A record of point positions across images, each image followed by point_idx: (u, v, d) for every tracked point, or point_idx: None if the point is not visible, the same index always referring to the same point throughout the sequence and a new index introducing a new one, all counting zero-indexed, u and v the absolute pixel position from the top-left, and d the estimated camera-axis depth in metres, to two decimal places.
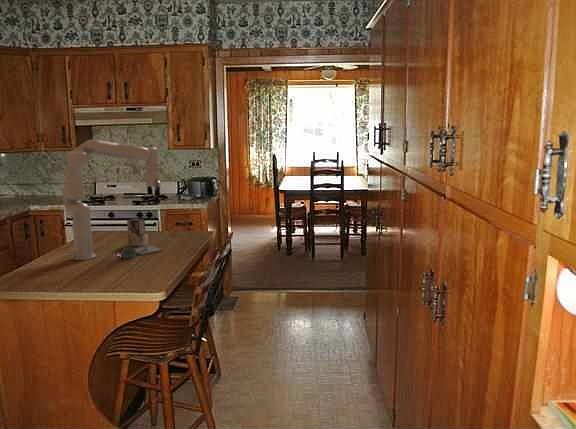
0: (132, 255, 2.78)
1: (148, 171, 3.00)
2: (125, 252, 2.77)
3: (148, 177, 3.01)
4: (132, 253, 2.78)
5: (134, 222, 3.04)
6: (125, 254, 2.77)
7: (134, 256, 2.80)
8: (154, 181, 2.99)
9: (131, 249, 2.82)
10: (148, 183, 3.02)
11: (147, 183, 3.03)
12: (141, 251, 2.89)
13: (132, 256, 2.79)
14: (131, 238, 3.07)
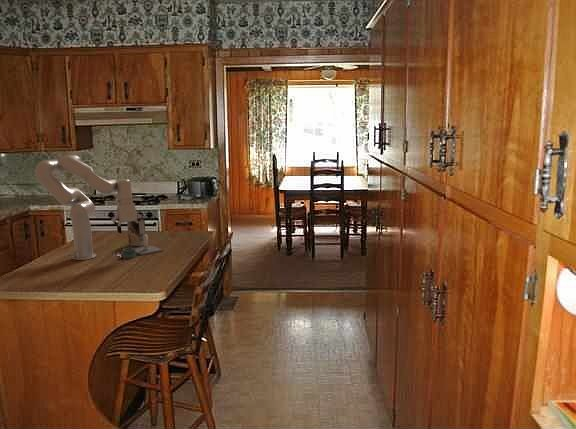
0: (132, 255, 2.78)
1: (128, 205, 2.74)
2: (125, 252, 2.77)
3: (128, 212, 2.74)
4: (132, 253, 2.78)
5: (134, 222, 3.04)
6: (125, 254, 2.77)
7: (134, 256, 2.80)
8: None
9: (131, 249, 2.82)
10: (128, 219, 2.75)
11: (126, 219, 2.74)
12: (141, 251, 2.89)
13: (132, 256, 2.79)
14: (131, 238, 3.07)
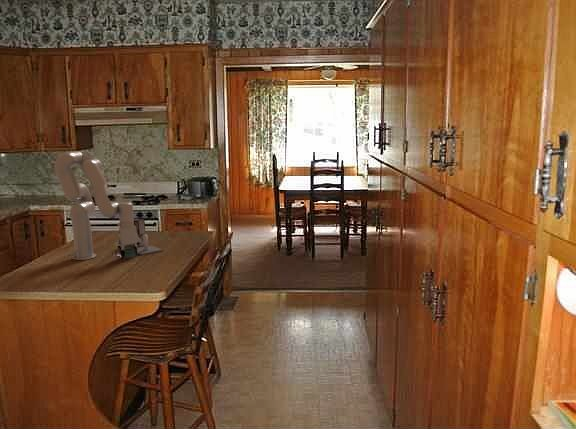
0: (132, 255, 2.78)
1: (129, 228, 2.76)
2: (125, 252, 2.77)
3: (129, 235, 2.77)
4: (132, 253, 2.78)
5: (134, 222, 3.04)
6: (125, 254, 2.77)
7: (134, 256, 2.80)
8: None
9: (131, 249, 2.82)
10: (129, 241, 2.77)
11: (127, 242, 2.76)
12: (141, 251, 2.89)
13: (132, 256, 2.79)
14: None
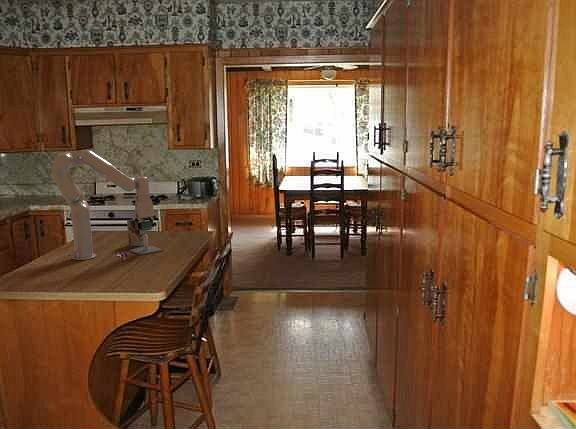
0: (149, 227, 2.89)
1: (146, 201, 2.86)
2: (142, 224, 2.87)
3: (146, 208, 2.87)
4: (149, 225, 2.88)
5: (134, 222, 3.04)
6: (142, 226, 2.87)
7: (151, 228, 2.90)
8: None
9: (147, 222, 2.92)
10: (146, 214, 2.87)
11: (143, 215, 2.86)
12: (141, 251, 2.89)
13: (149, 228, 2.89)
14: (131, 238, 3.07)
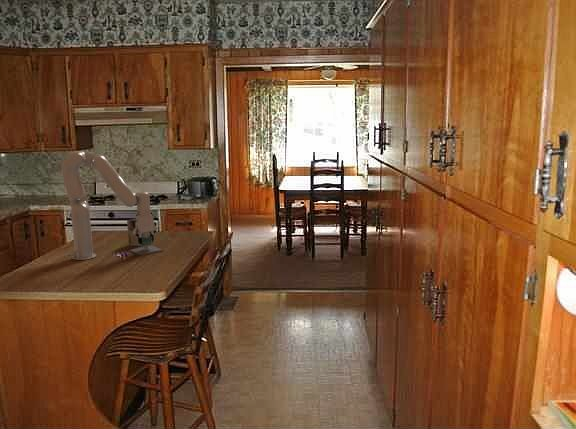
0: (149, 242, 2.90)
1: (146, 217, 2.88)
2: (142, 239, 2.88)
3: (147, 223, 2.88)
4: (149, 240, 2.90)
5: (134, 222, 3.04)
6: (143, 241, 2.89)
7: (151, 243, 2.91)
8: None
9: (148, 237, 2.94)
10: (146, 229, 2.88)
11: (144, 230, 2.88)
12: (141, 251, 2.89)
13: (149, 243, 2.90)
14: (131, 238, 3.07)
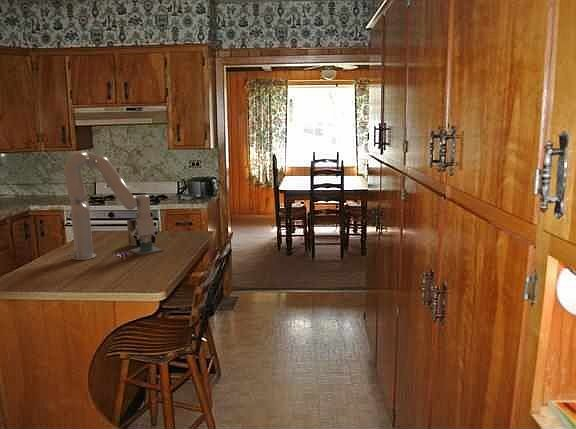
0: (149, 248, 2.90)
1: (146, 220, 2.88)
2: (142, 245, 2.89)
3: (147, 226, 2.88)
4: (149, 246, 2.90)
5: (134, 222, 3.04)
6: (142, 247, 2.89)
7: (151, 249, 2.92)
8: None
9: (148, 242, 2.94)
10: (146, 232, 2.89)
11: (144, 233, 2.88)
12: (141, 251, 2.89)
13: (149, 249, 2.90)
14: (131, 238, 3.07)
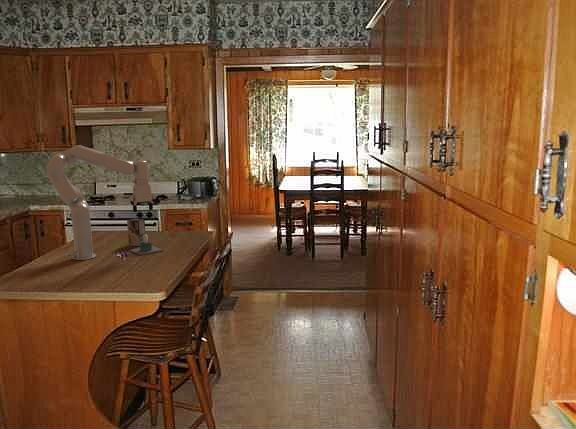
0: (149, 248, 2.90)
1: (144, 186, 2.85)
2: (142, 245, 2.89)
3: (144, 192, 2.85)
4: (149, 246, 2.90)
5: (134, 222, 3.04)
6: (142, 247, 2.89)
7: (151, 249, 2.92)
8: None
9: (148, 242, 2.94)
10: (143, 198, 2.85)
11: (141, 199, 2.84)
12: (141, 251, 2.89)
13: (149, 249, 2.90)
14: (131, 238, 3.07)
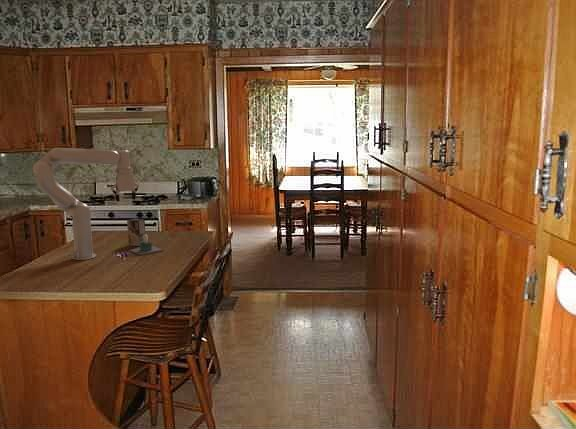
0: (149, 248, 2.90)
1: (126, 175, 2.87)
2: (142, 245, 2.89)
3: (126, 181, 2.87)
4: (149, 246, 2.90)
5: (134, 222, 3.04)
6: (142, 247, 2.89)
7: (151, 249, 2.92)
8: None
9: (148, 242, 2.94)
10: (126, 188, 2.88)
11: (124, 188, 2.87)
12: (141, 251, 2.89)
13: (149, 249, 2.90)
14: (131, 238, 3.07)
